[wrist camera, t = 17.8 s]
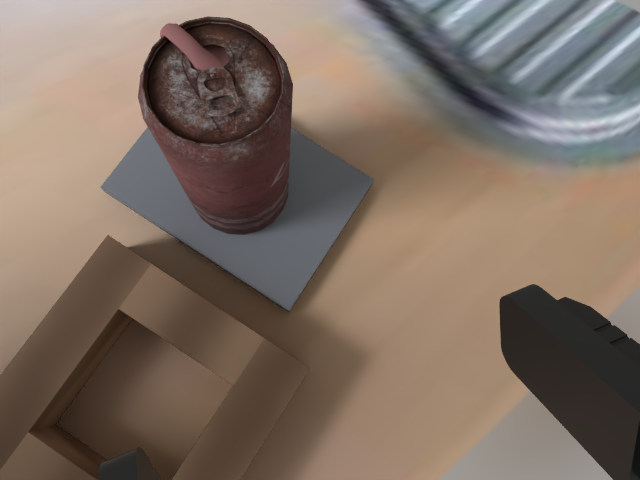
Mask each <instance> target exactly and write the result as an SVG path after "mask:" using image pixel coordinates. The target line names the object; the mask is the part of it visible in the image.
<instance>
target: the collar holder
mask: <svg viewBox="0 0 640 480" xmlns="http://www.w3.org/2000/svg"><path fill="white" fill-rule="evenodd" d="M132 318H133V319H134V320H136V321H137V322H139V323H140V324H142V325H143V326H145V327H146V328H148V329H149V330H151V331H152V332H154V333H155V334H157V335H158V336H160V337H161V338H163V339H164V340H166V341H167V342H169V343H170V344H172V345H173V346H175V347H176V348H178V349H179V350H181V351H182V352H184V353H185V354H187V355H188V356H190V357H191V358H193V359H194V360H196V361H197V362H199V363H200V364H202V365H203V366H205V367H206V368H208V369H209V370H211V371H212V372H214V373H215V374H217V375H218V376H220V377H221V378H223V379H224V380H226V381H227V382H229V383H230V384H232V385H233V387H232V389H231V390H230V392H229V393H228V395H227V396H226V398H225V399H224V401H223V402H222V404H221V405H220V407H219V408H218V410H217V411H216V413H215V415H214V416H213V418H212V419H211V421H210V422H209V424H208V425H207V427H206V428H205V430H204V431H203V433H202V434H201V436H200V437H199V439H198V440H197V442H196V443H195V445H194V447H193V448H192V450H191V451H190V453H189V454H188V456H187V457H186V459H185V460H184V462H183V463H182V465H181V466H180V468H179V469H178V471H177V472H176V474H175V475H174V477H173V479H172V480H240V479H241V478H242V476H243V475H244V473H245V471H246V470H247V468H248V467H249V465H250V463H251V462H252V460H253V459H254V457H255V455H256V454H257V452H258V451H259V449H260V447H261V446H262V444H263V443H264V441H265V440H266V438H267V436H268V435H269V433H270V432H271V430H272V428H273V427H274V425H275V424H276V422H277V420H278V419H279V417H280V416H281V414H282V412H283V411H284V409H285V408H286V406H287V404H288V403H289V401H290V400H291V398H292V396H293V395H294V393H295V392H296V390H297V388H298V387H299V385H300V384H301V382H302V380H303V379H304V377H305V376H306V374H307V372H308V371H309V369H310V368H309V367H307V366H306V365H304V364H303V363H301V362H300V361H298V360H297V359H295V358H294V357H292V356H291V355H289V354H288V353H286V352H285V351H283V350H281V349H280V348H278V347H277V346H275V345H274V344H272V343H271V342H269V341H268V340H266V339H265V338H263V337H262V336H260V335H259V334H257V333H256V332H254V331H253V330H251V329H250V328H248V327H247V326H245V325H244V324H242V323H241V322H239V321H237V320H236V319H234V318H233V317H231V316H230V315H228V314H227V313H225V312H224V311H222V310H221V309H219V308H218V307H216V306H215V305H213V304H212V303H210V302H209V301H207V300H206V299H204V298H203V297H201V296H200V295H198V294H197V293H195V292H193V291H192V290H190V289H189V288H187V287H186V286H184V285H183V284H181V283H180V282H178V281H177V280H175V279H174V278H172V277H171V276H169V275H168V274H166V273H165V272H163V271H162V270H160V269H159V268H157V267H156V266H154V265H153V264H151V263H149V262H148V261H146V260H145V259H143V258H142V257H140V256H139V255H137V254H136V253H134V252H133V251H131V250H130V249H128V248H127V247H125V246H124V245H122V244H121V243H119V242H118V241H116V240H115V239H113V238H112V237H110V236H109V235H107V237H106V238H105V239H104V241H103V242H102V243H101V245H100V246H99V247H98V249H97V250H96V251H95V252H94V254H93V255H92V256H91V258H90V259H89V260H88V262H87V263H86V264H85V266H84V267H83V268H82V269H81V271H80V272H79V273H78V275H77V276H76V277H75V279H74V280H73V281H72V283H71V284H70V285H69V287H68V288H67V289H66V290H65V292H64V293H63V294H62V296H61V297H60V298H59V300H58V301H57V302H56V304H55V305H54V306H53V307H52V309H51V310H50V311H49V313H48V314H47V315H46V317H45V318H44V319H43V321H42V322H41V323H40V324H39V326H38V327H37V328H36V330H35V331H34V332H33V334H32V335H31V336H30V338H29V339H28V340H27V341H26V343H25V344H24V345H23V347H22V348H21V349H20V351H19V352H18V353H17V355H16V356H15V357H14V358H13V360H12V361H11V362H10V364H9V365H8V366H7V368H6V369H5V370H4V372H3V373H2V374H1V375H0V480H99V467H100V464H101V463H103V462H105V461H108V460H106V459H105V458H104V457H102V456H101V455H99V454H98V453H96V452H95V451H93V450H92V449H91V448H89V447H88V446H86V445H85V444H83V443H82V442H80V441H79V440H77V439H76V438H75V437H73V436H72V435H70V434H69V433H67V432H66V431H64V430H63V429H62V428H60V427H59V426H57V425H56V423H57V422H58V420H59V419H60V417H61V416H62V415H63V413H64V412H65V411H66V409H67V408H68V406H69V405H70V404H71V402H72V401H73V399H74V398H75V397H76V395H77V394H78V393H79V391H80V390H81V388H82V387H83V386H84V384H85V383H86V382H87V380H88V379H89V377H90V376H91V375H92V373H93V372H94V370H95V369H96V368H97V366H98V365H99V364H100V362H101V361H102V359H103V358H104V357H105V355H106V354H107V352H108V351H109V350H110V348H111V347H112V346H113V344H114V343H115V341H116V340H117V339H118V337H119V336H120V335H121V333H122V332H123V330H124V329H125V328H126V326H127V325H128V323H129V322H130V321H131V319H132Z"/></svg>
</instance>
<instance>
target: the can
mask: <svg viewBox="0 0 640 480" xmlns="http://www.w3.org/2000/svg"><path fill="white" fill-rule="evenodd" d="M160 36H161V39H160V40H159V41H158V42H157V43H156V44H155V45H154V46H153V47H152V49H151V51H150V53H149V55H148V57H147V59H146V62H145V64H144V68H143V71H142V73H141V76H140V85H139V94H138V99H139V103H140V107H141V111H142V115H143V119H144V121H145V122H146V124H147V126H148V128H149V130H150V131H151V133H152V135H153V137H154V138H155V140H156V142H157V144H158V145H159V147H160V149H161V151H162V152H163V154H164V156H165V158H166V159H167V161H168V163H169V165H170V166H171V168H172V170H173V172H174V174H175V175H176V177H177V179H178V181H179V182H180V184H181V186H182V188H183V189H184V191H185V193H186V195H187V196H188V198H189V200H190V202H191V203H192V205H193V207H194V208H195V210H196V211H197V213H198V215H199V216H200V218H201V219H202V220H203V221H205V222H206V223H207V224H208V225H210V226H211V227H212V228H213V229H216V230H219V231H221V232H224V233H227V234H237V235H246V234H249V233H253V232H257V231H260V230H262V229H263V228H265V227H266V226H268V225H270V224H271V223H273V222H274V220H275V219H276V218H277V217H278V216H279V214H280V213H281V212H282V211H283V208H284V206H285V203H286V201H287V198H288V186H289V162H290V138H291V114H292V90H293V83H292V80H291V77H290V73H289V70H288V67H287V64H286V62H285V61H284V59H283V58H282V56H281V55H280V54H279V52H278V51H277V50H276V48H275V47H274V45H272V44H271V43H270V42H269V41H268V39H267V38H266V37H265V36H263V35H262V34H261V33H259V32H258V31H257V30H255V29H254V28H252V27H251V26H250V25H247V24H244V23H242V22H239V21H236V20H233V19H230V18H220V17H204V18H199V19H195V20H190V21H186V22H184V23H182V24H180V25H178V24H170V23H169V24H166V25H165V26H164V27H163V28H162V30H161V32H160Z"/></svg>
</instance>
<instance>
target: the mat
mask: <svg viewBox="0 0 640 480" xmlns="http://www.w3.org/2000/svg"><path fill="white" fill-rule="evenodd" d="M373 182H374V179H372V178H370V177H369V176H367V175H366V174H364V173H363V172H361V171H359V170H358V169H356V168H355V167H353V166H351V165H350V164H348V163H347V162H345V161H343V160H342V159H340V158H339V157H337V156H335V155H334V154H332V153H331V152H329V151H328V150H326V149H324V148H323V147H321V146H320V145H318V144H316V143H315V142H313V141H312V140H310V139H308V138H307V137H305V136H304V135H302V134H300V133H299V132H297V131H296V130H294V129H293V128H291V138H290V162H289V186H288V198H287V201H286V203H285V206H284V208H283V211H282V212H281V213H280V214H279V216H278V217H277V218H276V219H275V220H274V222H273V223H271V224H270V225H268V226H266V227H265V228H263V229H262V230H260V231H257V232H253V233H249V234H246V235H237V234H227V233H224V232H221V231H219V230H216V229H213V228H212V227H211V226H210V225H208V224H207V223H206V222H205V221H203V220H202V219H201V218H200V216H199V215H198V213H197V211H196V210H195V208H194V207H193V205H192V203H191V202H190V200H189V198H188V196H187V195H186V193H185V191H184V189H183V188H182V186H181V184H180V182H179V181H178V179H177V177H176V175H175V174H174V172H173V170H172V168H171V166H170V165H169V163H168V161H167V159H166V158H165V156H164V154H163V152H162V151H161V149H160V147H159V145H158V144H157V142H156V140H155V138H154V137H153V135H152V133H151V131H150V130H149V128H147V129H146V130H145V131H144V133H143V134H142V135H141V136H140V138H139V139H138V140H137V142H136V143H135V144H134V145H133V147H132V148H131V149H130V150H129V152H128V153H127V154H126V156H125V157H124V158H123V159H122V161H121V162H120V163H119V164H118V166H117V167H116V168H115V170H114V171H113V172H112V173H111V175H110V176H109V177H108V178H107V180H106V181H105V182H104V184H103V185H102V186H101V187H100V188H101V189H103V190H104V191H105V192H106V193H107V194H109V195H110V196H112V197H113V198H115V199H117V200H118V201H120V202H121V203H123V204H124V205H126V206H127V207H129V208H130V209H132V210H133V211H135V212H136V213H138V214H139V215H141V216H143V217H144V218H146V219H147V220H149V221H150V222H152V223H153V224H155V225H156V226H158V227H159V228H161V229H162V230H164V231H166V232H167V233H169V234H170V235H172V236H173V237H175V238H176V239H178V240H179V241H181V242H182V243H184V244H185V245H187V246H188V247H190V248H192V249H193V250H195V251H196V252H198V253H199V254H201V255H202V256H204V257H205V258H207V259H208V260H210V261H211V262H213V263H214V264H216V265H218V266H219V267H221V268H222V269H224V270H225V271H227V272H228V273H230V274H231V275H233V276H234V277H236V278H237V279H239V280H240V281H242V282H244V283H245V284H247V285H248V286H250V287H251V288H253V289H254V290H256V291H257V292H259V293H260V294H262V295H263V296H265V297H267V298H268V299H270V300H271V301H273V302H274V303H276V304H277V305H279V306H280V307H282V308H283V309H285V310H286V311H288V312H289V311H290V310H291V308H292V306H293V305H294V303H295V302H296V300H297V299H298V297H299V296H300V294H301V293H302V291H303V290H304V288H305V287H306V285H307V284H308V282H309V280H310V279H311V277H312V276H313V274H314V273H315V271H316V270H317V268H318V267H319V265H320V264H321V262H322V261H323V259H324V257H325V256H326V254H327V253H328V251H329V250H330V248H331V247H332V245H333V244H334V242H335V241H336V239H337V238H338V236H339V234H340V233H341V231H342V230H343V228H344V227H345V225H346V224H347V222H348V221H349V219H350V218H351V216H352V215H353V213H354V212H355V210H356V208H357V207H358V205H359V204H360V202H361V201H362V199H363V198H364V196H365V195H366V193H367V192H368V190H369V189H370V187H371V185H372V184H373Z"/></svg>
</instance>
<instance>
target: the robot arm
mask: <svg viewBox="0 0 640 480" xmlns="http://www.w3.org/2000/svg"><path fill="white" fill-rule="evenodd" d="M500 330H501V348H502V352H503V355H504V358H505V360H506V362H507V364H508V366H509V367H510V369H511V370H512V371H513V373H514V374H515V375H516V376H517V377H518V378H519V379H520V380H521V381H522V382H523V383H524V384H525V386H526V387H527V388H528V389H529V390H530V391H531V392H532V393H533V394H534V395H535V396H536V397H537V398H538V399H539V401H540V402H541V403H542V404H543V405H544V406H545V407H546V408H547V409H548V410H549V411H550V412H551V413H552V414H553V415H554V417H555V418H556V419H557V420H558V421H559V422H560V423H561V424H562V425H563V426H564V427H565V428H566V429H567V430H568V431H569V433H570V434H571V435H572V436H573V437H574V438H575V439H576V440H577V441H578V442H579V443H580V444H581V445H582V447H583V448H584V449H585V450H586V451H587V452H588V453H589V454H590V455H591V456H592V457H593V458H594V459H595V460H596V462H597V463H598V464H599V465H600V466H601V467H602V468H603V469H604V470H605V471H606V472H607V473H608V474H609V475H610V477H611V478H612V479H613V480H640V344H638V343H637V342H636V341H634V340H633V339H632V338H630V339H629V338H628V337H627V334H625V333H624V332H623V331H621V330H620V329H619V328H617V327H616V326H615V325H614V326H612V325H611V323H610V321H608V320H607V319H606V318H604V317H603V316H602V315H601V314H599V313H598V312H597V311H595V310H594V309H593V308H591V307H590V306H587V305H585V304H582V303H579V302H577V301H574V300H572V299H569V298H567V297H564V298H561V299H559V300H556V299H555V298H553V297H552V296H551V295H550V294H548V293H547V292H546V291H545V290H543V289H542V288H541V287H539V286H537V285H534V284H532V285H529V286H527V287H524V288H522V289H520V290H517V291H515V292H512V293H510V294H508V295H505V296H503V297H502V298H501V299H500ZM99 480H161V478H160V476H159V475H158V473H157V472H156V470H155V468H154V467H153V465H152V464H151V462H150V460H149V459H148V457H147V456H146V454H145V452H144V451H143V450H142V449H141V448H136V449H134V450H132V451H129V452H127V453H124V454H122V455H120V456H117V457H115V458H113V459H110V460H108V461H105V462H103V463H101V464H100V467H99Z"/></svg>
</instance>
